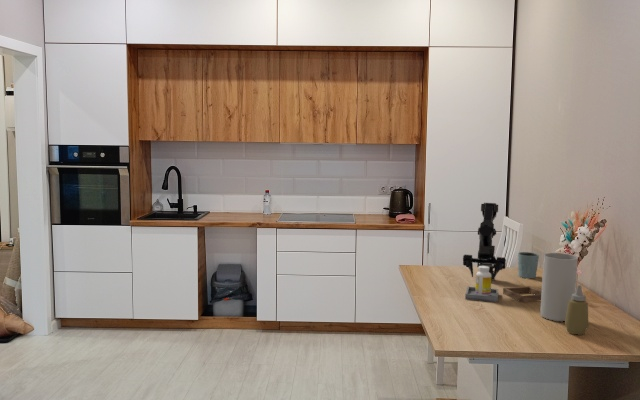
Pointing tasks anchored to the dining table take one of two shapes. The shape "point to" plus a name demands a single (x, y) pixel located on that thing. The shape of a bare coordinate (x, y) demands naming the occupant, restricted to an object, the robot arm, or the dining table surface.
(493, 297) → the slate tray
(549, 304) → the cylinder vase
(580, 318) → the squeeze bottle
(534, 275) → the teal tapered cup
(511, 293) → the tray
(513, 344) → the dining table surface
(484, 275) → the supplement bottle
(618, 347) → the dining table surface
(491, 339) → the dining table surface
